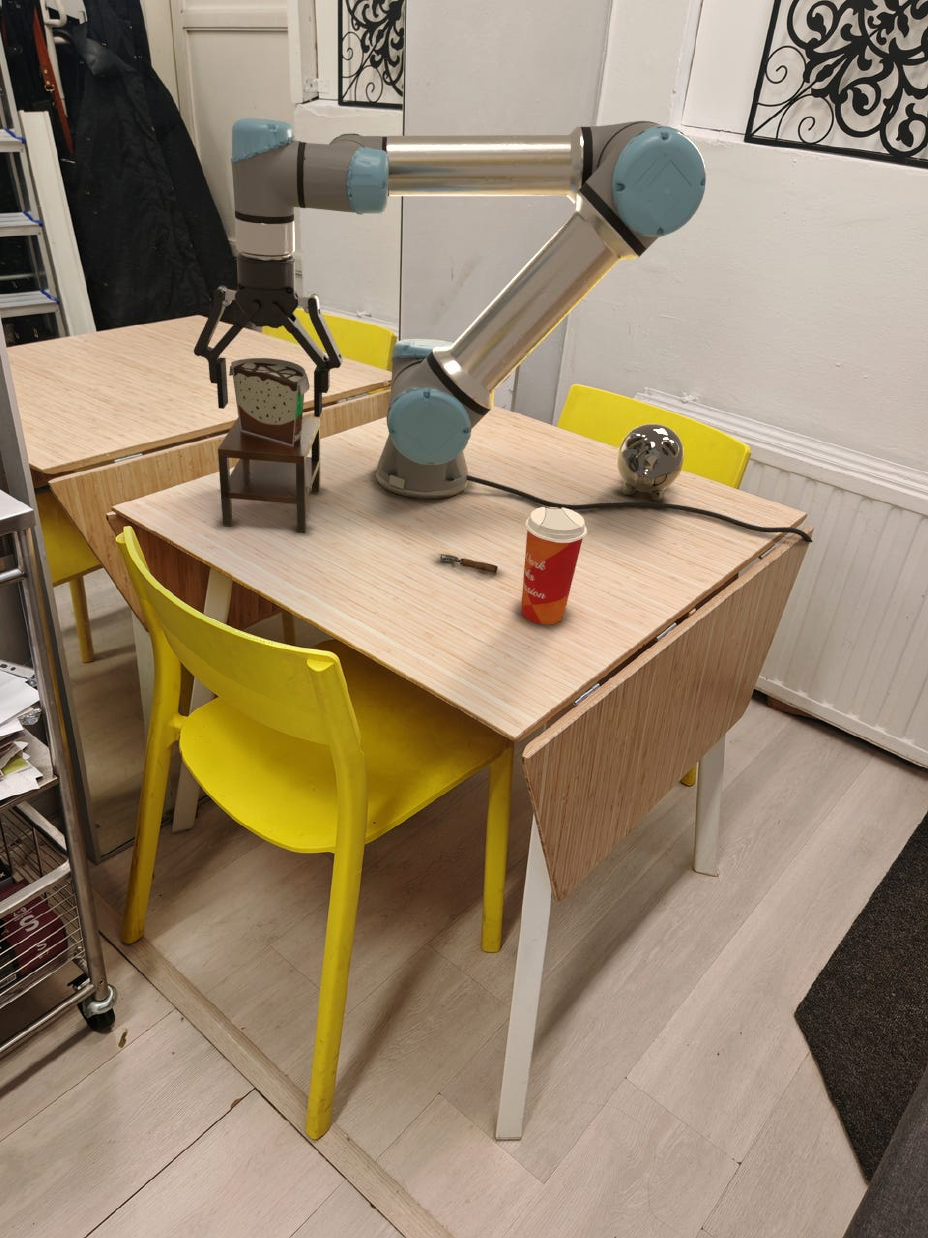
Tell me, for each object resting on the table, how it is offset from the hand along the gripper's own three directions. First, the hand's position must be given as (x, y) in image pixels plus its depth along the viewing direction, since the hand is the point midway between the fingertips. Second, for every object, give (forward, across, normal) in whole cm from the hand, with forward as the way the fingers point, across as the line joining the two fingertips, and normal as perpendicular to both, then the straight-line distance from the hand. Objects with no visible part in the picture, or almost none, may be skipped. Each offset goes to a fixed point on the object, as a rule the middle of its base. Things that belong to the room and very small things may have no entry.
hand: (270, 409), depth 129 cm
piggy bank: (+16, -60, -18) cm, 64 cm away
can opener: (+16, -30, +14) cm, 36 cm away
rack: (+16, 0, 0) cm, 16 cm away
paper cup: (+16, -40, +24) cm, 49 cm away
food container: (+4, -1, 0) cm, 4 cm away
